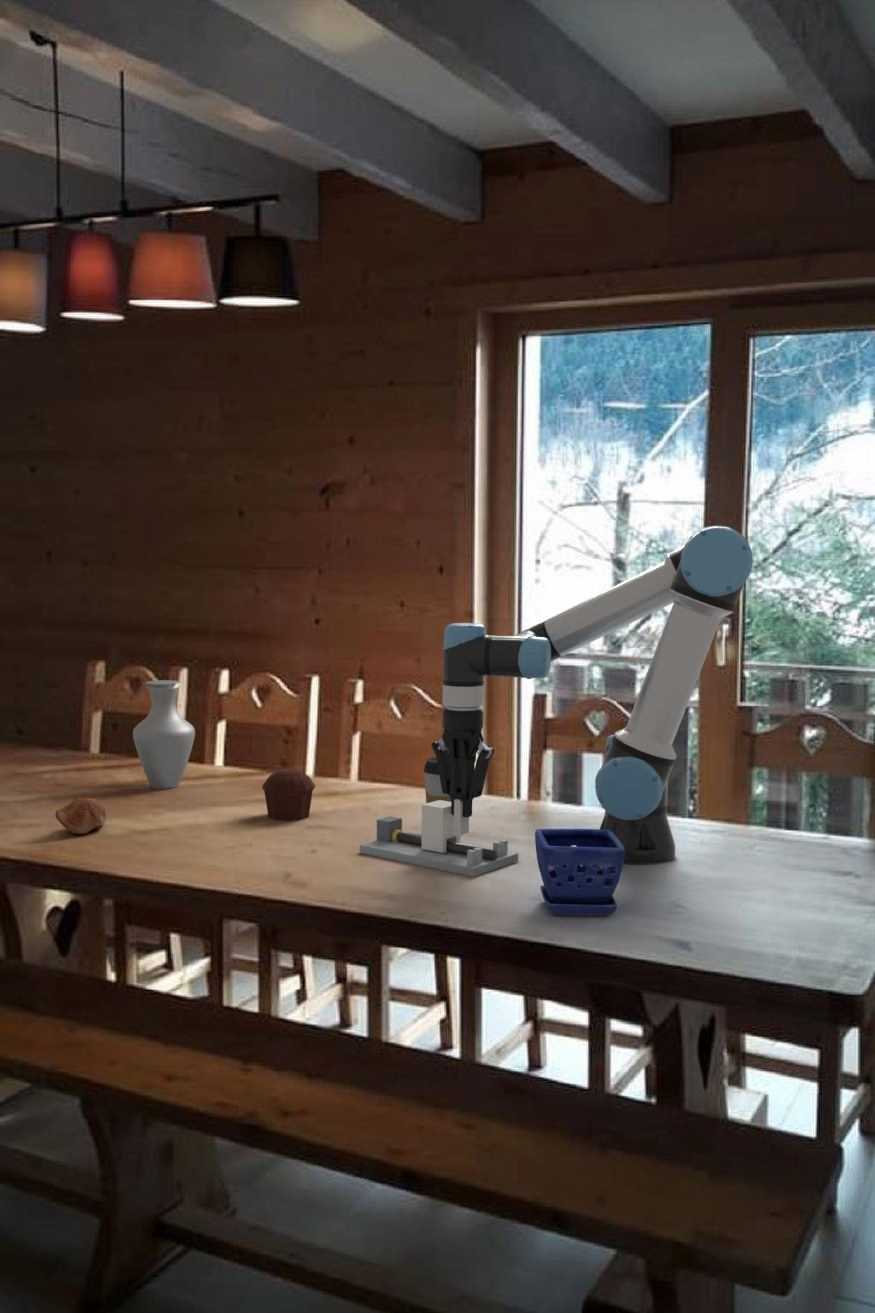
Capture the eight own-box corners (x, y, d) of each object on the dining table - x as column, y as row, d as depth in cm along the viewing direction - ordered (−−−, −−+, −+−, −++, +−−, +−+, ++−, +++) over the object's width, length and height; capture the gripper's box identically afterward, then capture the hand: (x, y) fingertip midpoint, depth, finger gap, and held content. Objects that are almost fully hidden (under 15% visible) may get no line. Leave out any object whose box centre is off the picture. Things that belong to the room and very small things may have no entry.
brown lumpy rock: (60, 824, 255) (64, 777, 260) (38, 837, 260) (42, 791, 265) (116, 838, 263) (119, 793, 268) (94, 851, 268) (97, 806, 273)
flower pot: (610, 897, 220) (612, 827, 219) (624, 920, 207) (626, 847, 206) (532, 897, 220) (533, 827, 219) (541, 921, 207) (542, 847, 205)
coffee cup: (460, 838, 260) (460, 764, 259) (419, 836, 262) (419, 762, 260) (467, 829, 268) (468, 757, 267) (427, 827, 270) (428, 755, 269)
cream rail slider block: (460, 847, 246) (460, 803, 245) (442, 852, 242) (442, 808, 241) (439, 843, 249) (439, 800, 248) (421, 848, 245) (421, 804, 244)
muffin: (321, 820, 276) (321, 773, 275) (270, 824, 272) (270, 776, 271) (306, 808, 287) (306, 763, 286) (256, 812, 283) (256, 766, 282)
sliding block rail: (518, 861, 243) (518, 832, 243) (473, 876, 232) (473, 846, 232) (406, 839, 260) (406, 811, 259) (359, 852, 249) (359, 824, 248)
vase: (131, 782, 315) (129, 679, 312) (191, 779, 319) (190, 677, 317) (136, 793, 301) (134, 686, 299) (199, 790, 305) (198, 684, 303)
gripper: (503, 708, 238) (501, 835, 241) (447, 702, 246) (445, 824, 249) (479, 713, 233) (477, 842, 235) (422, 706, 240) (421, 831, 243)
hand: (461, 833), depth 242 cm, fingers closed
